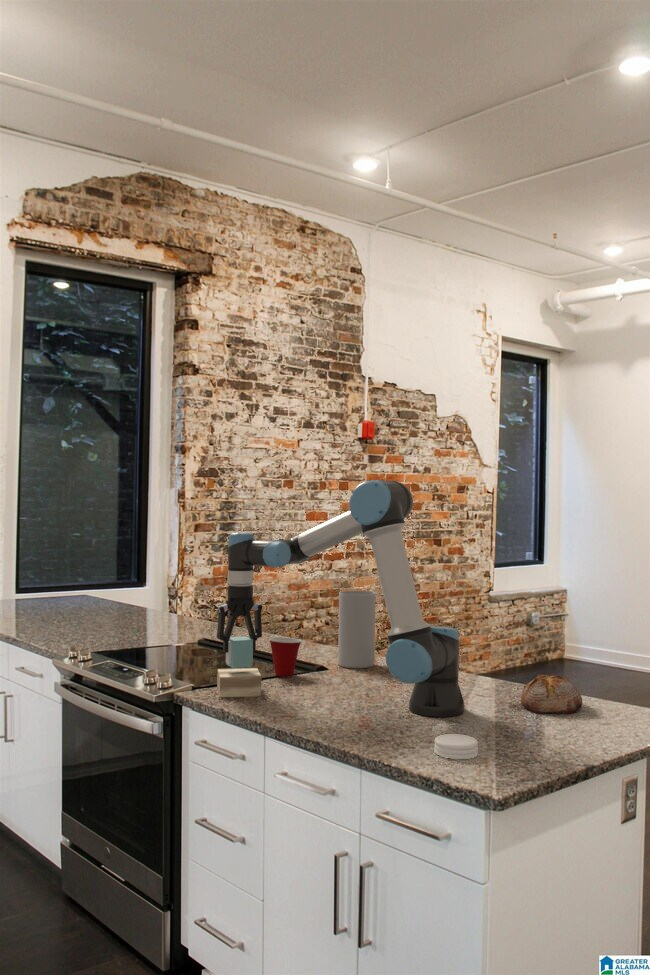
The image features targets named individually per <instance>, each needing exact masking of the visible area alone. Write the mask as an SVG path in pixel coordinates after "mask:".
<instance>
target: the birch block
mask: <svg viewBox="0 0 650 975" xmlns="http://www.w3.org/2000/svg"><path fill="white" fill-rule="evenodd" d="M216 680H217V683H216V684H217V687H216V688H217V691H218V692H217V693H218V696H219V698H238V697H239V698H240V697H243V698H244V697H262V675H261V672H260V671H259V669H258V667H242V668H217V679H216Z"/></svg>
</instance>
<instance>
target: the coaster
mask: <svg viewBox="0 0 650 975" xmlns="http://www.w3.org/2000/svg"><path fill="white" fill-rule="evenodd" d="M478 745H479V741H478V739H476V737H475V738H474V736H473V737H472V736H470V735H465V734H461V733H460V734H459V733H445V734H441V735H438V736H436V737H435V738H434V746H433V747H434V749H433V750H434V751H433V752H434V754H435V753H436V754H437V755H440V756H442V757H448V758H453V759H469V760H471V759H470V758H473V759H475V758H477V757H478V754H479V752H478V750H479V747H478ZM436 754H435V755H436ZM437 755H436V756H437ZM442 757H441V758H442ZM474 757H475V758H474Z"/></svg>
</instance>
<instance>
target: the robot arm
mask: <svg viewBox="0 0 650 975" xmlns="http://www.w3.org/2000/svg"><path fill="white" fill-rule="evenodd" d="M348 508H349V510H348V511H346V512H343V513H341V514H340V515H337V516H335V517H333V518H330V519H329V520H326V521H325V522H322V523H320V524H317V525H316V526H314V527H312V528H310V529H308V530H306V531H303V532H302V533H300V534H298V535H295V536H293V537H291V538H288V539H287V538H286V539H277V540H276V539H275V540H258V539H255V534H254V533H252V532H240V531H239V532H231V533H230V534H229V535H228V544H227V545H228V546H227V555H228V556H227V558H228V561H227V564H228V567H227V584H228V586H227V600H226V603H225V604H222V605H217V607H216V608H217V612H218V619H217V629H216V630H217V632H216V639H218V640H219V641H222V651H223V653H224V654H225V664H226V663H227V664H231V649H232V642H231V641H229V639H230V637H232V636H231V635H232V633H233V628H234V627H235V623H236V620H237V619H238V617H243V620H244V622H245V626H246V630H247V632H248V636H249V637H248V638H250V639H253V652H254V651H256V646H257V645H256V642H257V640H258V639H259V638H262V636H263V632H262V631H263V630H262V627H263V626H262V610H263V604H262V603H255V602H254V586H253V585H252V584H254V566H256V567H257V566H258V567H268V568H274V569H275V568H284V567H285V566H287V565H298V564H301V563H305V562H307V561H308V560H310V558H311V557H312V556H316V555H317V554H319V553H321V552H324V551H326V550H328V549H331V548H333V547H335V546H337V545H339V544H342V543H343V542H346V541H348V540H351V539H353V538H355V537H357V536H359V535H363V536H364V537H366V538H368V539H369V540H370V544H371V549H372V552H373V556H374V557H373V558H374V562H375V565H376V570H377V573H378V577H379V582H380V586H381V590H382V595H383V599H384V601H385V602H384V603H385V607H386V612H387V615H388V618H389V623H390V630H389V631H388V633H387V640H388V643H389V646H388V648H387V651H386V652H385V664H386V667H387V669H388V671H389V672H390V673H391V675H392V676H393V677H394V678H395V679H396V680H398V681H400V682H401V683H404V684H414V685H413V688H412V692H411V696H410V698H409V701H408V703H409V704H408V710H409V711H410V712H411V713H413V714H416V715H421V716H426V717H435V718H443V717H444V718H445V717H449V718H451V717H456V716H457V717H458V716H460V715H462V714H464V713H465V701H464V698H463V695H462V691H461V687H460V685H459V684H460V683H459V670H460V669H459V666H460V665H459V662H460V661H459V659H460V637H459V636H460V635H459V631H458V630H457V629H456V628H452V627H447V626H446V627H445V626H435V625H434V626H432V625H431V624H429V623H428V622H426V621H425V620H424V619H423V615H422V612H421V606H420V602H419V598H418V594H417V591H416V587H415V586H416V585H415V582H414V579H413V575H412V574H413V573H412V571H411V567H410V562H409V558H408V555H407V550H406V545H405V540H404V537H403V534H402V532H403V529H404V528H405V526H406V522H405V519H406V518H408V517H409V515H410V514H411V512H412V510H413V508H414V498H413V494H412V491H410V489H409V487H407V486H406V484H404V483H402V482H400V481H398V480H397V481H395V480H380V479H372V480H366V481H363V482H361V483H359V484H358V485H357V486H356V487H354V489H353V490H352V493H351V494H350V498H349V501H348ZM227 609H228V611H229V615H228V620H227V623H226V612H227ZM252 609H253V611H254V613H253V614H254V615H253V616H254V624H253V621H252V615H251V610H252ZM225 623H226V624H225ZM225 625H226V627H225ZM253 654H254V653H253ZM253 654H252V663H253V662H254V661H253V660H254V659H253V658H254V657H253V656H254V655H253Z"/></svg>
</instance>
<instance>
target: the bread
mask: <svg viewBox="0 0 650 975" xmlns="http://www.w3.org/2000/svg"><path fill="white" fill-rule="evenodd" d="M520 698H521V699H520V703H521V706H522V707H524V709H526V710H529V711H530V712H533V713H538V714H575V713H578V712H579V711H580V710H581V708H582V706H583V697H582V694H581V693H580V691H579V689H578V688H577V687H576V686H575V685H574V684H573V683H572V682H570V681H568V680H567V679H566V678H564V676H559V675H548V674H541V673H540V674H538V675H537V677H535V678H534V679H533V680H531V681H530V682H528V683H527V684H525V685H524V686H523V689H522V690H521V697H520Z"/></svg>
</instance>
